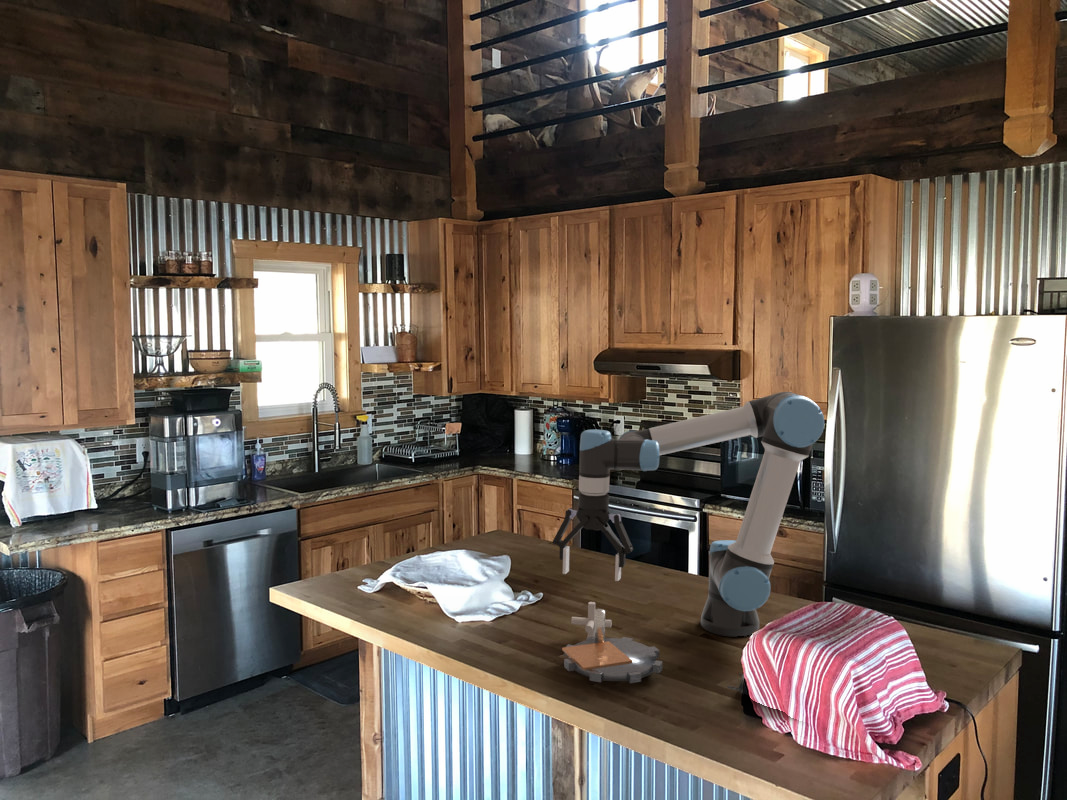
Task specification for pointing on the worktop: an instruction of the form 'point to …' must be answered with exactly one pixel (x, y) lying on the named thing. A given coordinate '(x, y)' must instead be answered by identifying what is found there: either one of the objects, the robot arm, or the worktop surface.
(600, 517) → the robot arm
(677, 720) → the worktop surface
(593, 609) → the pipe connector
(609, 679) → the sprocket
